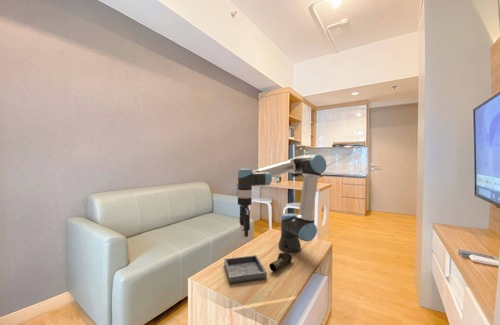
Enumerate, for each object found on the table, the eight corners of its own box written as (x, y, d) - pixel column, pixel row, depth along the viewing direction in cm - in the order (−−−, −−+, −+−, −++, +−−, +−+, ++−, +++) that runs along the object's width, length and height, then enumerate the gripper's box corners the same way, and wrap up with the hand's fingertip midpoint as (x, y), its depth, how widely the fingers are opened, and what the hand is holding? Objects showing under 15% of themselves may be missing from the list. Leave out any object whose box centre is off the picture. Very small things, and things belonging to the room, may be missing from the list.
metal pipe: (276, 273, 105) (276, 262, 105) (266, 268, 110) (266, 258, 110) (293, 262, 118) (294, 252, 118) (284, 258, 123) (284, 249, 123)
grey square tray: (256, 261, 120) (256, 255, 120) (266, 279, 101) (266, 272, 101) (224, 265, 115) (224, 258, 115) (229, 284, 96) (229, 277, 96)
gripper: (234, 194, 116) (234, 233, 116) (241, 200, 97) (241, 247, 97) (247, 194, 118) (246, 232, 118) (256, 200, 99) (255, 246, 99)
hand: (244, 239), depth 108 cm, fingers open, 7 cm apart
